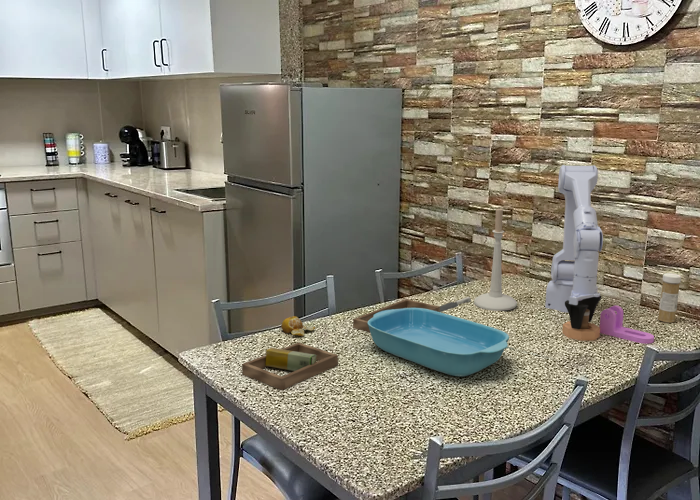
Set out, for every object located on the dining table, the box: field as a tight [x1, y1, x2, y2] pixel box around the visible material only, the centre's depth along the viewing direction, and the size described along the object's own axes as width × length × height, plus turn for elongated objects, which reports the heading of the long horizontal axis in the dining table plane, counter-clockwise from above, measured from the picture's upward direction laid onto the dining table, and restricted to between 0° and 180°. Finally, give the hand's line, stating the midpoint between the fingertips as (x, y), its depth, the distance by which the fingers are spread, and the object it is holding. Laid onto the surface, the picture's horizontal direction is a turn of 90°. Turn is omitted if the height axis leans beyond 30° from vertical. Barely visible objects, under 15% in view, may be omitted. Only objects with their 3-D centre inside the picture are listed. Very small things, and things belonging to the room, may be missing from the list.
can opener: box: [439, 296, 472, 313], centre depth 194 cm, size 19×6×5 cm, turn 129°
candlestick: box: [473, 207, 518, 312], centre depth 192 cm, size 13×13×30 cm
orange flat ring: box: [561, 320, 601, 342], centre depth 169 cm, size 9×9×2 cm
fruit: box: [280, 315, 316, 337], centre depth 171 cm, size 8×8×4 cm
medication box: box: [265, 347, 317, 372], centre depth 146 cm, size 12×3×4 cm, turn 69°
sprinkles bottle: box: [657, 272, 682, 323], centre depth 178 cm, size 5×5×14 cm
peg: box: [580, 309, 590, 330], centre depth 168 cm, size 3×3×7 cm
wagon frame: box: [352, 298, 441, 333], centre depth 180 cm, size 12×25×2 cm, turn 139°
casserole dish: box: [368, 308, 510, 377], centre depth 156 cm, size 37×22×7 cm, turn 45°
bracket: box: [598, 304, 655, 345], centre depth 167 cm, size 13×6×7 cm, turn 43°
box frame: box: [241, 342, 339, 391], centre depth 146 cm, size 13×18×2 cm
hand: (581, 324), depth 168 cm, fingers open, 7 cm apart
